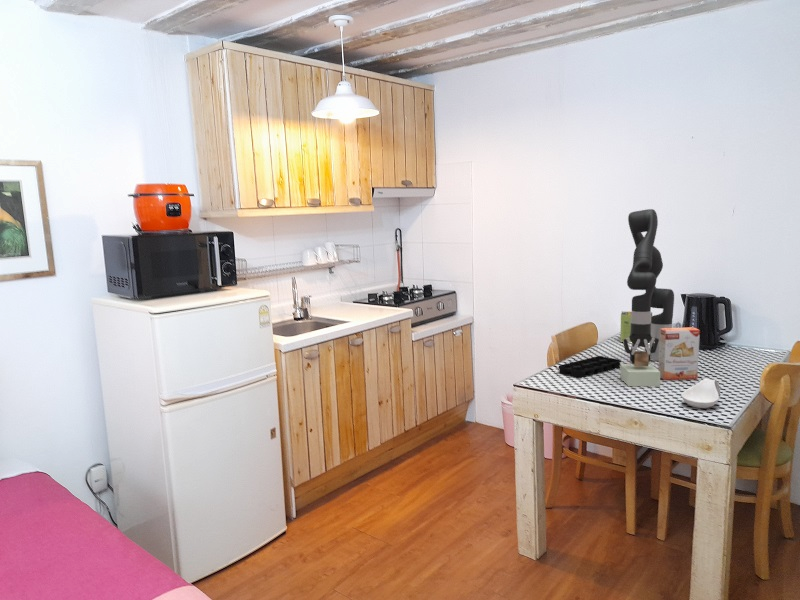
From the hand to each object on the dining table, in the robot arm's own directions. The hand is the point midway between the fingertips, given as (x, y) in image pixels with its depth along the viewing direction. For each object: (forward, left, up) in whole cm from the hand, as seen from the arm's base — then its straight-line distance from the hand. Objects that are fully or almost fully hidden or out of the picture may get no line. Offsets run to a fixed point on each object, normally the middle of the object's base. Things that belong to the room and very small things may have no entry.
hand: (639, 362), depth 231 cm
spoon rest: (-16, +24, -9) cm, 30 cm away
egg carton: (+15, -19, -9) cm, 26 cm away
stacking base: (0, 0, -8) cm, 8 cm away
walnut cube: (0, 0, -1) cm, 1 cm away
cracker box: (-17, -6, -8) cm, 20 cm away
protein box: (-20, -75, -8) cm, 78 cm away
